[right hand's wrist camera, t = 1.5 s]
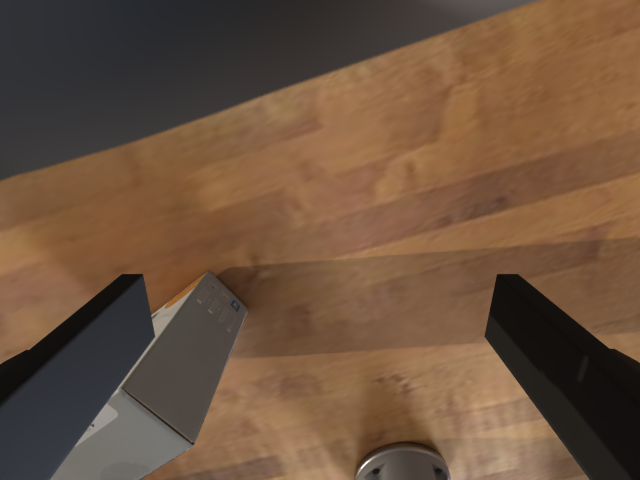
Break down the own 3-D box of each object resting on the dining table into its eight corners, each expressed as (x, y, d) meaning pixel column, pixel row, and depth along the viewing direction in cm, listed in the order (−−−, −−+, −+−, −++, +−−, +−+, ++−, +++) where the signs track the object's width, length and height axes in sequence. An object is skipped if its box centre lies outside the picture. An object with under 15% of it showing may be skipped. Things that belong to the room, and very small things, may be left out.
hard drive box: (209, 267, 43) (123, 386, 24) (250, 308, 45) (200, 447, 26) (127, 331, 46) (-4, 480, 28) (169, 367, 48) (74, 527, 30)
